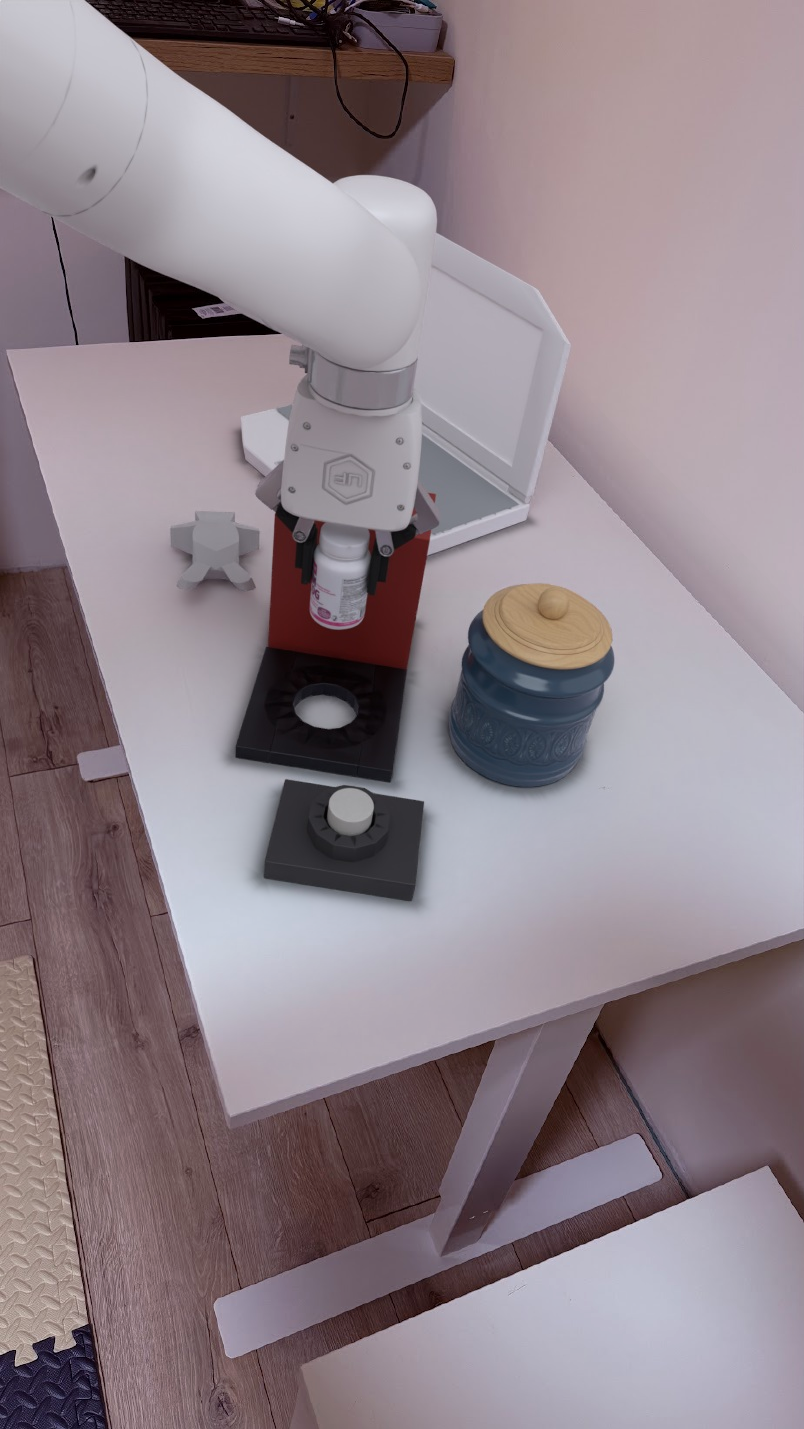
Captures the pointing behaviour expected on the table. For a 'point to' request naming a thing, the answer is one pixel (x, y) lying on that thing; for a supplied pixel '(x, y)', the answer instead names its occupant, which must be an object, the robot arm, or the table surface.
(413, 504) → the robot arm
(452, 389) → the laptop
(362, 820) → the button
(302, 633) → the red box with knob
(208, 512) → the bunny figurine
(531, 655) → the canister
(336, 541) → the pill bottle
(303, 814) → the control block
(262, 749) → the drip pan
